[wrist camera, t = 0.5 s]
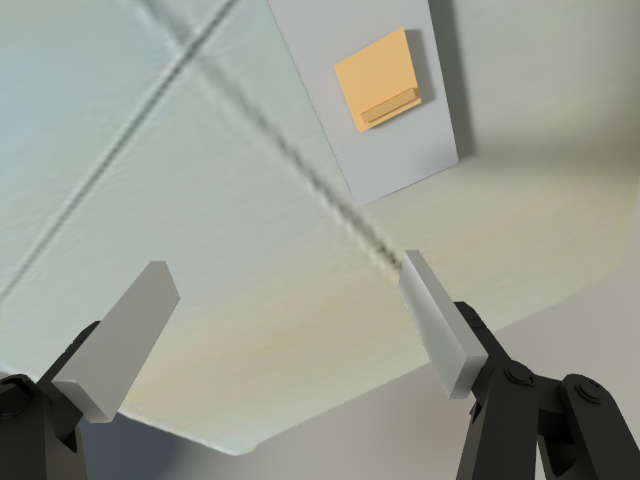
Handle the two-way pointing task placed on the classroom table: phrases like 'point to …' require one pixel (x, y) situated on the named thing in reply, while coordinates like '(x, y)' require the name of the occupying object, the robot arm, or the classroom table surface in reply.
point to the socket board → (331, 106)
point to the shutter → (379, 80)
